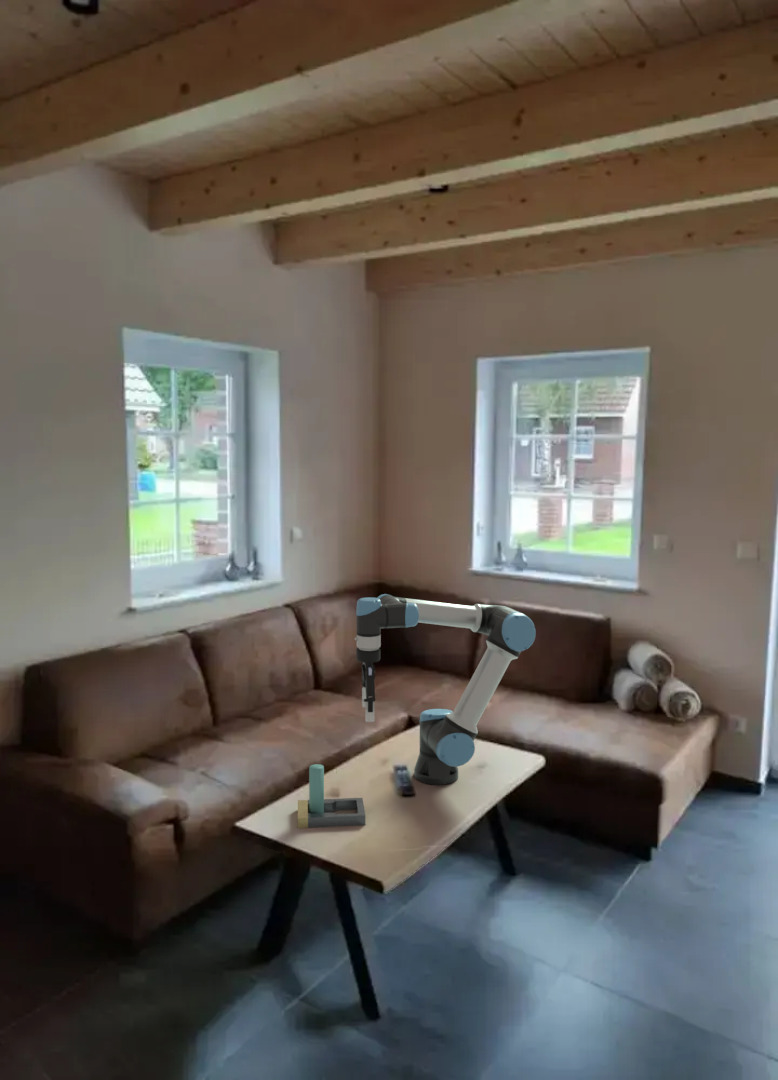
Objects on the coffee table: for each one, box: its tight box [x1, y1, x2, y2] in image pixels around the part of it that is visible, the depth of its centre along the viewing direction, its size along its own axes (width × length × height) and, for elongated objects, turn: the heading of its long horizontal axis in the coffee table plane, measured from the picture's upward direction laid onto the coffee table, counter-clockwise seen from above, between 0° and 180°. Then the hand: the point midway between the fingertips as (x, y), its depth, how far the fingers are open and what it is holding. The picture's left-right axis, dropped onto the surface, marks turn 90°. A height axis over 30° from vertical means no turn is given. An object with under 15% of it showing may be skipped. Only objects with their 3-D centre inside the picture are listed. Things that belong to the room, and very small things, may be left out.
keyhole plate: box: [297, 797, 366, 829], centre depth 239 cm, size 20×12×3 cm, turn 96°
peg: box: [308, 763, 325, 814], centre depth 238 cm, size 4×4×16 cm
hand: (368, 714), depth 246 cm, fingers open, 13 cm apart
